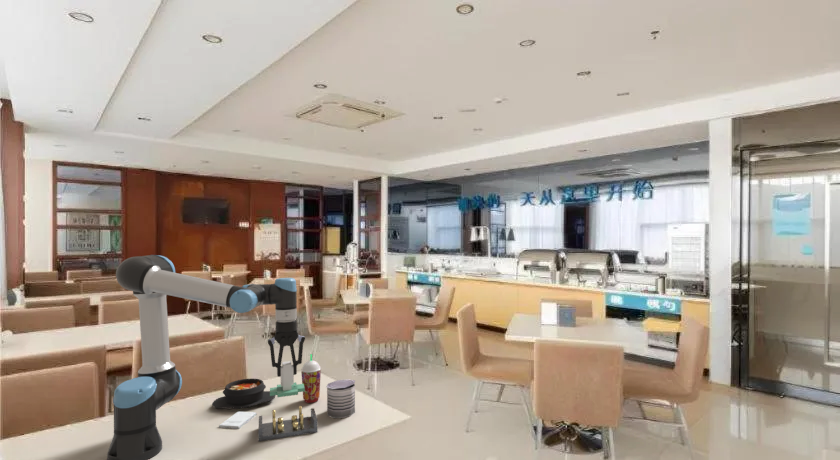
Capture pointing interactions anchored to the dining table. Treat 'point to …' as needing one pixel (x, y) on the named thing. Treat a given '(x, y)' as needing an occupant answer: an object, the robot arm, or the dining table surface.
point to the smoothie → (311, 380)
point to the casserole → (243, 394)
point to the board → (287, 393)
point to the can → (341, 398)
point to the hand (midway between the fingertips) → (287, 384)
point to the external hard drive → (237, 420)
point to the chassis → (287, 426)
